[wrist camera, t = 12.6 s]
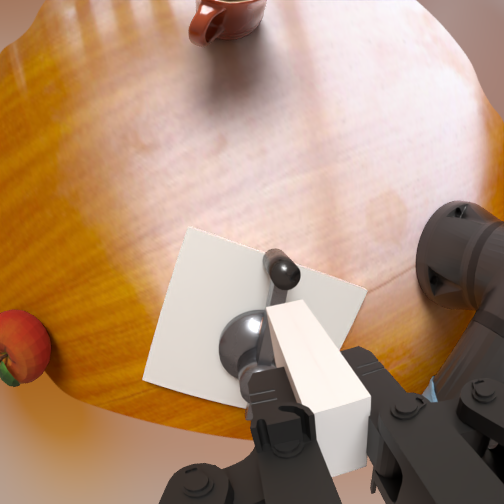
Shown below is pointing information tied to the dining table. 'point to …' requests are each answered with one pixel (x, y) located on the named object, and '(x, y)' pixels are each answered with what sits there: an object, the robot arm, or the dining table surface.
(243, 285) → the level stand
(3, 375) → the fruit
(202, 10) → the mug
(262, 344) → the lever handle
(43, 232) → the dining table surface
